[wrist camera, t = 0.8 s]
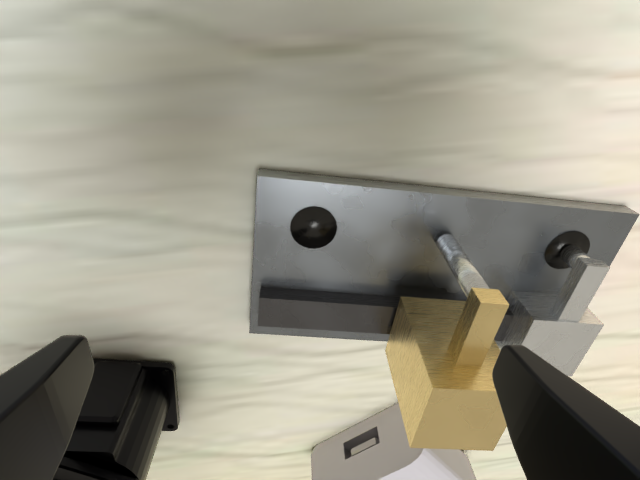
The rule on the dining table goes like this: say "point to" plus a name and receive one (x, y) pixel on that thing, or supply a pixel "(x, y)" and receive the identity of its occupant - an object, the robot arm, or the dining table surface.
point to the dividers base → (427, 258)
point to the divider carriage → (449, 361)
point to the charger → (385, 454)
